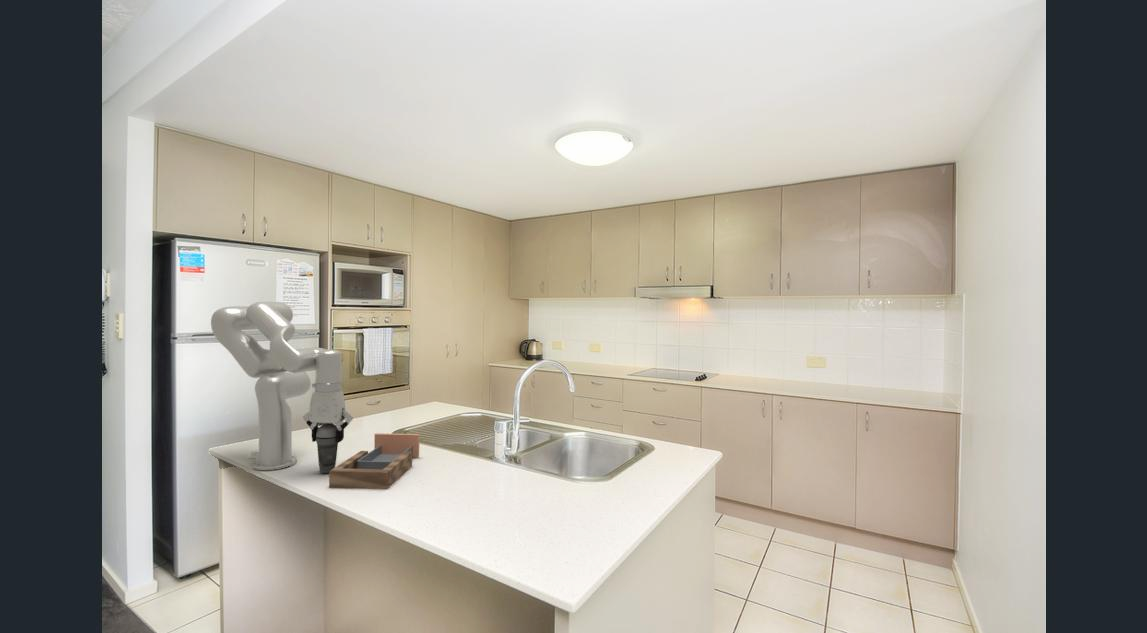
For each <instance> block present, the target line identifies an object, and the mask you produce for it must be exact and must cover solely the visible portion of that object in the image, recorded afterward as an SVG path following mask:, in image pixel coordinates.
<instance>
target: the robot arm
mask: <svg viewBox="0 0 1147 633" xmlns="http://www.w3.org/2000/svg"><path fill="white" fill-rule="evenodd" d="M293 318H294V313H293V309H292V308H291V306H290V305H288V304H287V303H285V302H281V301H257V302H254V303H252V304H250V305H249V306H244V305H243V306H242V305H241V306H238V305H237V306H225V307H221V308H219V309H216V311H214V312H213V314H212V315H211V319H210V326H211V331H212V333H213V336H214V337H215V339H216V341H218V343H220V345H222V346H223V347H224V348H225V349H226V350H227V351H228V352H229V353H230V354H231V356H232V357H233V358H234V359H235V361H236V362H237V363H238V366H239V367H240V368H242V370H243V371H244V372H245V373H246V375H247V376H248V377H250V378H253V379H257V381H255V384H254V385H255V386H254V392H255V397H256V401H257V408H258V451H251V452H250V454H249V455H248V459H249V460H255V462H254V463H253V469H255V471H275V469H276V470H281V468H282V469H285V467H286V468H288V466H289V467H291V466H293V465H296V463H297V461H298V458H297V457H296V456H293V455H292V454H293V450H292V449H293V448H292V444H293V442H292V441H293V439H292V436H293V434H292V430H293V429H292V424H293V423H292V421H293V420H292V418H293V417H292V408H291V406H289V404H288V402H287V399H292V398H296V397H297V398H298V397H300V396H304V395H306V393H308V392H309V391H310V388H311V387H312V389H313V388H314V391H313V392H312V394H311V398H310V402H309V403H310V404H309V411H308V412H307V413H305V414H304V415H302V419H303V420H304V421H305V422H306V425H307V426H308V427H309V429H310V430H311V442H316V438H315V437H316V433H317V430H318V428H319V427H320V426H319V425H320V424H325V423H328V424H335V425H336V427H337V429H338V430H337V431H336V442H337V443H338V444H339V443H340V442H342V441H343V440H344V437H345V436H344V435H345V429H346V427H348V425H349V424H350V423H351V422H352V421H353V419H354V417H353V416H352V415H351V414H350V413H349V412H348V411H346V400H345V396H344V395H345V394H344V392H343V390H342V357H343V356H342V352H341V351H340V350H338V349H327V348H326V349H325V348H322V347H310V348H309V347H307V348H306V347H305V348H298V349H295V348H293V347H292V345H290V344H289V343H288V342H289V341H290V340H291V339H292V338H293V337H294V335H295V333H296V328H295V325H294V324H293V323H291V322H292V320H293ZM252 330H255V331H256V330H258V331H259V332H260V333H261V334H263V336H264V337H265V338H266V339H267V340H269V341H270V342H269V349H267V348H264V347H262V345H260V344H259V342H258V341H257V340H256V339H255V338H254V337H253V336H251V335H250V334H248V333H246V332H244V331H252ZM312 371H315V382H314V383H312V382H311V379H310V376H309V374H308V372H312ZM345 419H346V420H345ZM344 420H345V421H344Z"/></svg>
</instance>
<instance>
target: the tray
mask: <svg viewBox="0 0 1147 633" xmlns="http://www.w3.org/2000/svg"><path fill="white" fill-rule="evenodd" d="M404 452H412V458H419V457H420V434H419V433H385V432H383V433H381V432H380V433H379V432H377V433H374V449H372V450H371V451H368V454H366V455H365V456H363V457H362V458H360V459H359V460H357V461H356V469H381V470H383V469H384V468H385V467H386V466H388V465H389V464H390V463H391V462H393V461H394V460H395V459H396V458H398V457H399V456H400V455H401V454H403V453H404Z"/></svg>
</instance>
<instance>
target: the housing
mask: <svg viewBox="0 0 1147 633" xmlns="http://www.w3.org/2000/svg"><path fill="white" fill-rule="evenodd" d="M368 453H369V451H368V450H360V451H358V452H357V453H355V454H354V455H352V456H350V457H349V458H348V459H345V460H344V461H343V462H342V463H340V464H338V465H336V466H335V468H333V469H332V470H330V471H329V472H328V482H329V483H328V487H329V489H331V488H332V489H364V488H368V489H367V490H369V489H371V488H372V489H373V490H375V489H376V490H388V489H389V488H390V487H391V486H393V484H394V483H396V482H397V481H398V480H399V479H400V478H401V477H402V476H403V475H404V474H405V473H406V472H408V471H409V470H410V469H411V468H413V457H412V452H404V453H403V454H401V455H400V456H399V457H398V458H396V459H395V460H394V461H393V462H391V463H390V464H389V465H388V466H386V467H385V468H384V469H383V470H381V469H356V461H357V460H359V459H360V458H362V457H363V456H365V455H366V454H368ZM409 468H410V469H409ZM407 470H408V471H407ZM372 489H371V490H372Z"/></svg>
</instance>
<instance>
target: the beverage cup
mask: <svg viewBox="0 0 1147 633" xmlns="http://www.w3.org/2000/svg"><path fill="white" fill-rule="evenodd" d="M318 427H319V428H318V430H317V433H316V437H315V438H316V441H315V442H316V444H317V445H316V446H317V447H316V448H317V459H318V469H319V472H320V473H322V474H324V473H325V474H326V473H328V474H329V471H330V470H332V469H333V468H335V467H336V466H337V457H338V456H337V455H338V445H339V443H337V442H336V431H337V430H338V429H337V427H336V425H335V424H328V423H322V425H320V426H318Z"/></svg>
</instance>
